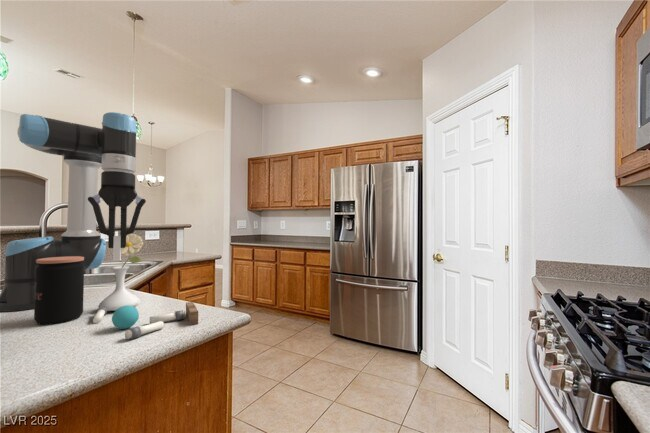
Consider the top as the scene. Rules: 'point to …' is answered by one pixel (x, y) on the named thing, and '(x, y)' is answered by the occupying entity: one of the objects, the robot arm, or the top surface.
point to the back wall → (192, 313)
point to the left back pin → (99, 314)
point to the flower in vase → (120, 293)
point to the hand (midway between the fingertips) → (117, 260)
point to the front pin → (168, 317)
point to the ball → (125, 317)
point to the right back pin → (143, 330)
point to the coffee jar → (58, 289)
